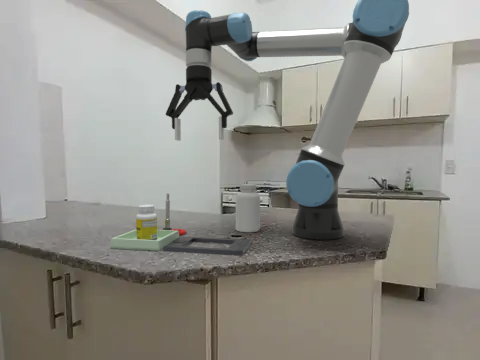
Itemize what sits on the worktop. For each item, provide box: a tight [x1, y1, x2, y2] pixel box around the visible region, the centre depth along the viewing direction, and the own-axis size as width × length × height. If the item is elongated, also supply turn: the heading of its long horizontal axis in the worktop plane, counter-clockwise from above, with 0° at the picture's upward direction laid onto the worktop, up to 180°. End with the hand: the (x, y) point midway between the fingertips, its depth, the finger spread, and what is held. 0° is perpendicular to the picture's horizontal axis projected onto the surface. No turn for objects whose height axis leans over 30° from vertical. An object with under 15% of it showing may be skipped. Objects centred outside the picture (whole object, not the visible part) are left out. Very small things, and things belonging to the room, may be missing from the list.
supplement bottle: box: [135, 204, 158, 240], centre depth 86 cm, size 5×5×10 cm
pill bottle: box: [235, 183, 261, 233], centre depth 104 cm, size 8×8×15 cm
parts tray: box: [110, 228, 180, 252], centre depth 86 cm, size 13×13×2 cm
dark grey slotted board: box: [162, 235, 252, 256], centre depth 83 cm, size 20×12×1 cm, turn 78°
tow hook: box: [162, 193, 187, 236], centre depth 99 cm, size 8×13×9 cm
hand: (199, 140), depth 96 cm, fingers open, 13 cm apart
